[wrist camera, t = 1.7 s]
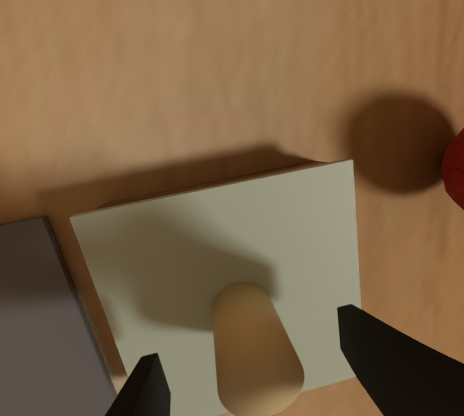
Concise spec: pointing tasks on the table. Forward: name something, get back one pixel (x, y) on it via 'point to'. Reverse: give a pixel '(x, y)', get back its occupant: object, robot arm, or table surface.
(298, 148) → the table surface
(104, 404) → the charcoal mat
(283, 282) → the lid
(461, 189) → the onion
